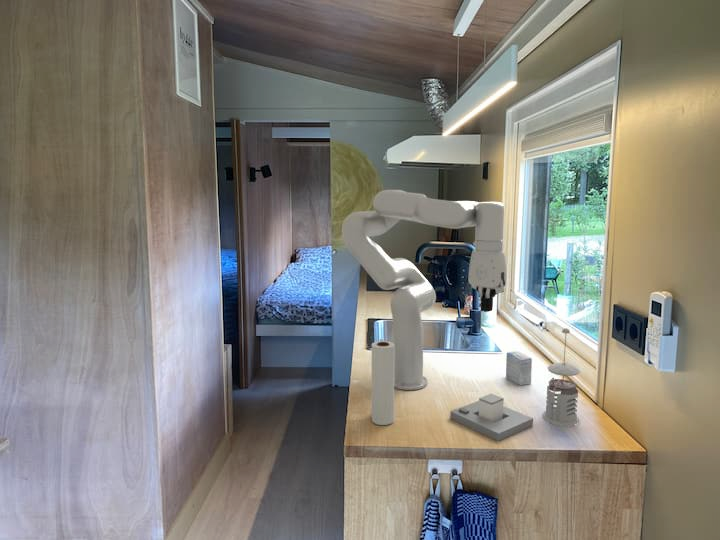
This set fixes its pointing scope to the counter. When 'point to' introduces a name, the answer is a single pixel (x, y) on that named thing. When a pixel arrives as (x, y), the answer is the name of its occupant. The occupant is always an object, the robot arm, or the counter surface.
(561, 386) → the french press
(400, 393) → the counter surface
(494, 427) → the socket plate
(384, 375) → the paper towel roll
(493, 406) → the plug
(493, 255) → the robot arm
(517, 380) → the medicine box
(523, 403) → the counter surface
